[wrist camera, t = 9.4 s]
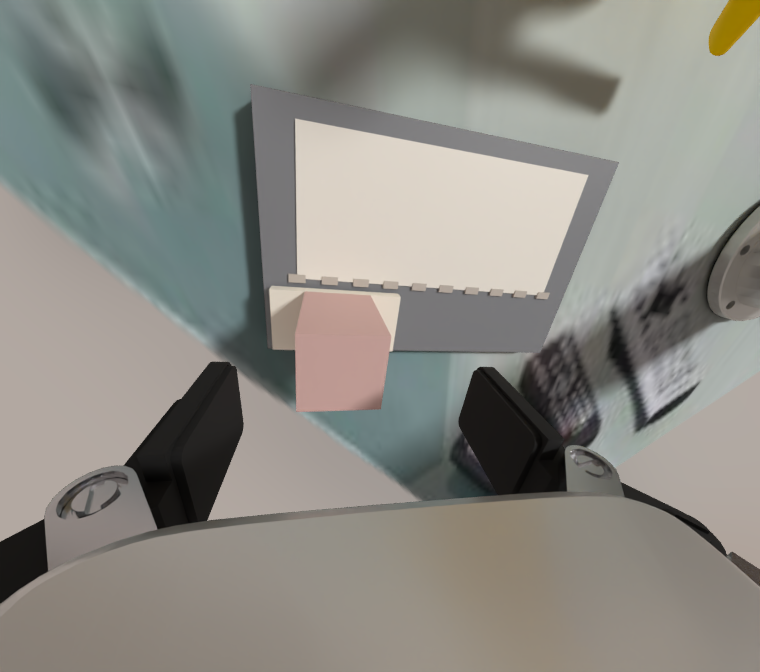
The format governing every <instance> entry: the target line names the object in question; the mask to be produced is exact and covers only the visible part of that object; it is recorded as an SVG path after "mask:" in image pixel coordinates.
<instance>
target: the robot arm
mask: <svg viewBox="0 0 760 672" xmlns="http://www.w3.org/2000/svg"><path fill="white" fill-rule="evenodd" d="M707 299H708V302H709V306H710V308H711V309H712V311H713V312H714V313H715V314H717V315H718V316H720V317H724V318H728V319H731V320H735V321H745V320H751V319H755V318H758V317H760V206H759V207H758V208H757V209H756V210H755V211H754V212H753V213H752V214H751V215H750V216H749V217H748V218H747V219H746V220H745V221H744V222H743V223H742V224H741V225H740V227H739V228H738V229H737V230H736V232H735V233H734V234H733V235H732V236H731V238H730V239H729V241H728V242H727V244H726V245H725V247H724V248H723V250H722V252H721V253H720V255H719V257H718V259H717V261H716V263H715V265H714V268H713V270H712V273H711V276H710V279H709V284H708V289H707ZM459 427H460V429H461V431H462V432H463V434H464V436H465V438H466V439H467V441H468V443H469V445H470V446H471V448H472V450H473V452H474V453H475V455H476V457H477V459H478V461H479V462H480V464H481V466H482V468H483V469H484V471H485V473H486V475H487V476H488V478H489V480H490V482H491V484H492V485H493V487H494V489H495V491H496V492H497V494H498V495H497V496H483V497H470V498H457V499H444V500H431V501H419V502H407V503H394V504H382V505H371V506H358V507H346V508H335V509H323V510H311V511H300V512H288V513H277V514H267V515H257V516H247V517H238V518H228V519H218V520H209V521H207V520H208V517H209V514H210V512H211V510H212V507H213V504H214V502H215V500H216V497H217V494H218V492H219V489H220V487H221V485H222V482H223V480H224V477H225V475H226V472H227V469H228V467H229V465H230V462H231V460H232V457H233V455H234V452H235V450H236V447H237V445H238V442H239V440H240V437H241V435H242V431H243V416H242V408H241V400H240V392H239V385H238V377H237V369H236V367H235V366H231V364H230V363H229V362H210V363H209V365H208V366H207V367H206V368H205V370H204V371H203V372H202V373H201V375H200V376H199V377H198V378H197V380H196V381H195V382H194V383H193V385H192V386H191V387H190V389H189V390H188V391H187V392H186V394H185V395H184V396H183V397H182V399H179V400H177V401H176V402H175V403H174V404H173V405H172V406H171V407H170V409H169V410H168V411H167V413H166V414H165V415H164V416H163V417H162V419H161V420H160V421H159V422H158V424H157V425H156V426H155V427H154V429H153V430H152V431H151V432H150V433H149V435H148V436H147V437H146V438H145V440H144V441H143V442H142V443H141V445H140V446H139V447H138V448H137V450H136V451H135V452H134V453H133V455H132V456H131V457H130V458H129V460H128V461H127V462H126V463H125V465H124V466H111V467H106V468H101V469H99V470H96V471H93V472H90V473H88V474H86V475H84V476H82V477H80V478H78V479H76V480H75V481H73V482H72V483H70V484H69V485H68V486H66V487H65V488H63V489H62V490H61V491H60V492H59V493H58V494H57V495H56V496H55V497H54V498H53V499H52V501H51V502H50V503H49V505H48V507H47V508H46V512H45V516H44V519H43V520H41V521H39V522H38V523H36V524H34V525H32V526H30V527H28V528H26V529H24V530H22V531H20V532H18V533H16V534H14V535H12V536H11V537H9V538H7V539H5V540H3V541H1V542H0V672H760V569H758V568H757V567H755V566H754V565H752V564H751V563H749V562H747V561H746V560H744V559H743V558H741V557H739V556H738V555H737V554H735V553H733V552H731V553H730V554H729V555H727V554H726V551H725V549H724V547H723V546H722V544H721V542H720V541H719V540H718V539H717V538H716V537H715V536H714V535H713V533H711V532H710V531H709V530H708V529H707V528H706V527H705V526H704V525H703V524H702V523H701V522H699V521H698V520H696V519H695V518H693V517H691V516H689V515H687V514H685V513H683V512H681V511H679V510H677V509H675V508H673V507H671V506H669V505H667V504H665V503H663V502H661V501H658V500H657V499H655V498H652V497H650V496H648V495H646V494H644V493H642V492H640V491H638V490H636V489H634V488H632V487H630V486H628V485H626V484H624V483H621V482H620V479H619V475H618V473H617V471H616V469H615V468H614V467H613V465H612V464H611V463H610V462H608V461H607V460H606V459H605V458H604V457H602V456H601V455H599V454H598V453H596V452H594V451H592V450H590V449H588V448H585V447H582V446H576V445H572V446H568V447H567V448H566V449H564V448H563V447H562V446H561V445H562V443H563V441H564V438H563V437H562V436H561V435H560V434H559V433H558V432H557V431H556V430H555V429H554V428H553V427H552V426H551V425H550V424H549V423H548V422H547V421H546V420H545V419H544V418H543V417H542V416H541V415H540V414H539V413H538V412H537V411H536V410H535V409H534V408H533V407H532V406H531V405H530V404H529V403H528V402H527V401H526V400H525V399H524V398H523V397H522V396H521V395H520V394H519V393H518V391H517V390H516V389H515V388H514V387H513V386H512V385H511V384H510V383H509V382H508V381H507V380H506V379H505V378H504V377H503V376H502V375H501V374H500V373H499V372H498V371H497V370H496V369H495V368H493V367H479V368H478V369H477V370H475V371H474V372H473V375H472V378H471V381H470V385H469V388H468V391H467V394H466V397H465V400H464V404H463V407H462V410H461V413H460V416H459Z"/></svg>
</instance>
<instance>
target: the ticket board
mask: <svg viewBox="0 0 760 672" xmlns="http://www.w3.org/2000/svg"><path fill="white" fill-rule="evenodd" d="M250 86H251V101H252V116H253V132H254V147H255V162H256V177H257V193H258V208H259V223H260V238H261V254H262V269H263V284H264V299H265V315H266V330H267V345H268V348H273V347H272V330H271V312H270V295H269V289H270V287H271V286H285V287H301V288H317V289H333V290H349V291H365V292H381V293H397V294H399V296H400V297H401V300H400V306H399V313H398V319H397V325H396V332H395V338H394V345H393V350H404V351H469V352H533V353H540V351H541V349H542V347H543V344H544V342H545V339H546V337H547V335H548V332H549V330H550V327H551V325H552V322H553V320H554V318H555V315H556V313H557V310H558V308H559V306H560V303H561V301H562V298H563V296H564V294H565V291H566V289H567V286H568V284H569V282H570V279H571V277H572V274H573V272H574V270H575V267H576V265H577V262H578V260H579V258H580V255H581V253H582V250H583V248H584V246H585V243H586V241H587V238H588V236H589V233H590V231H591V229H592V226H593V224H594V221H595V219H596V217H597V214H598V212H599V209H600V207H601V205H602V202H603V200H604V197H605V195H606V193H607V190H608V188H609V185H610V183H611V181H612V178H613V176H614V173H615V171H616V169H617V166H618V164H619V162H615V161H611V160H606V159H601V158H597V157H592V156H587V155H582V154H578V153H573V152H568V151H564V150H559V149H554V148H549V147H545V146H540V145H535V144H531V143H526V142H521V141H516V140H512V139H507V138H502V137H498V136H493V135H488V134H483V133H479V132H474V131H469V130H465V129H460V128H455V127H450V126H446V125H441V124H436V123H432V122H427V121H422V120H417V119H413V118H408V117H403V116H399V115H394V114H389V113H384V112H380V111H375V110H370V109H366V108H361V107H356V106H351V105H347V104H342V103H337V102H333V101H328V100H323V99H318V98H314V97H309V96H304V95H300V94H295V93H290V92H285V91H281V90H276V89H271V88H267V87H262V86H257V85H252V84H250Z"/></svg>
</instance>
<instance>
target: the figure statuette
mask: <svg viewBox="0 0 760 672" xmlns="http://www.w3.org/2000/svg"><path fill="white" fill-rule="evenodd" d="M759 16H760V0H729V1H728V3H727V5H726V6H725V8H724V10H723V11H722V13H721V14H720V16H719V18H718V19H717V21H716V23H715V24H714V26H713V28H712V30H711V32H710V35H709V50H710V53H711V54H713V55H715V56H720V55H723V54H725V53H726V52H727V51H728V50H729V49H730V48H731V47H732V46H733V44H734V43H735V42H736V41H737V40H738V39H739V38H740V37H741V36H742V35H743V34H744V33H745V32H746V31H747V29H748V28H749V27H750V26H751V25H752V24H753V23H754V22H755V21H756V20H757V19H758V17H759Z"/></svg>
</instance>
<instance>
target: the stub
mask: <svg viewBox="0 0 760 672" xmlns="http://www.w3.org/2000/svg"><path fill="white" fill-rule="evenodd" d="M269 295H270V312H271V330H272V347H273V350H295V359H296V412H312V411H342V410H372V409H381V404H382V397H383V390H384V384H385V377H386V370H387V363H388V357H389V351H393V345H394V338H395V332H396V325H397V319H398V313H399V306H400V300H401V297H400V296H399V294H397V293H381V292H365V291H349V290H333V289H317V288H301V287H285V286H271V287H270V289H269Z"/></svg>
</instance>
